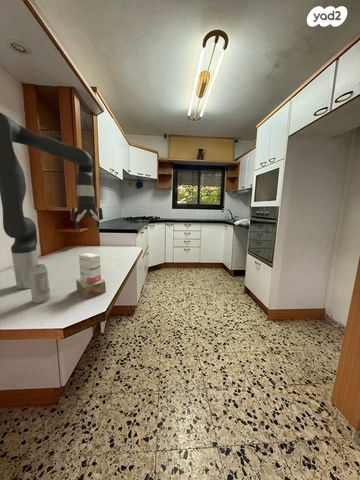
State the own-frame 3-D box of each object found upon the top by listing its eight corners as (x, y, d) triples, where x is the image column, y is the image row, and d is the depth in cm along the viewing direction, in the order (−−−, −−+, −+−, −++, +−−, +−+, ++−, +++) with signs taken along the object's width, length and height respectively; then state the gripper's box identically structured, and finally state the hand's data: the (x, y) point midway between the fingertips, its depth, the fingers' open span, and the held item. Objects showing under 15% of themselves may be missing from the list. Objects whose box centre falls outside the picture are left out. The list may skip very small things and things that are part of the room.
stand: (85, 298, 79) (84, 287, 78) (77, 290, 87) (76, 279, 86) (106, 292, 85) (105, 281, 84) (96, 284, 93) (96, 274, 92)
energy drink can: (46, 295, 82) (41, 262, 79) (53, 299, 79) (49, 265, 76) (29, 301, 77) (24, 266, 74) (37, 305, 74) (31, 269, 71)
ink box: (102, 279, 86) (100, 254, 84) (92, 283, 82) (90, 257, 79) (89, 276, 90) (87, 252, 88) (80, 279, 86) (77, 254, 83)
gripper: (71, 194, 83) (74, 230, 86) (103, 196, 92) (105, 228, 95) (67, 194, 88) (70, 229, 91) (98, 196, 98) (100, 227, 101)
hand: (88, 228), depth 93 cm, fingers open, 8 cm apart
